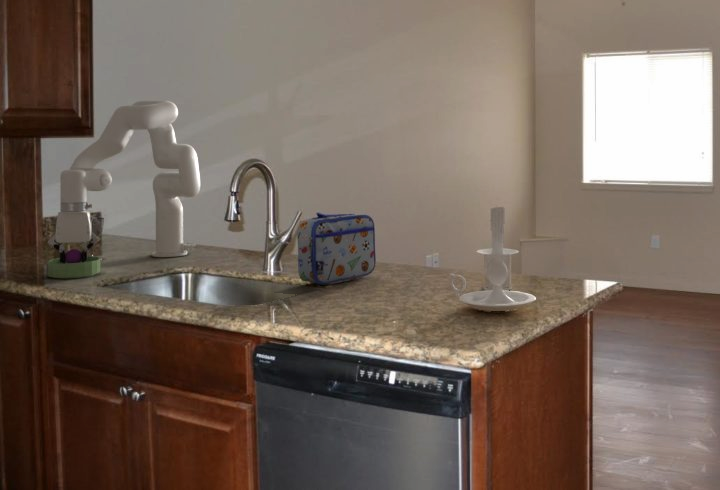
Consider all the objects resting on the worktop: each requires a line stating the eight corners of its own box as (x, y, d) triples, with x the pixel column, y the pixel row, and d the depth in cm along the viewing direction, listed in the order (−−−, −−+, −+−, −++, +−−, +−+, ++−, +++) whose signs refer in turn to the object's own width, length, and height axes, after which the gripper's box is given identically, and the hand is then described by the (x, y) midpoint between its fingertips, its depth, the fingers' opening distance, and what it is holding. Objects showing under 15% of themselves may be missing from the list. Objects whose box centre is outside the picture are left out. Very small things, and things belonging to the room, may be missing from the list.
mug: (494, 295, 230) (495, 254, 230) (471, 291, 235) (471, 251, 235) (517, 288, 240) (517, 249, 240) (494, 285, 245) (494, 246, 245)
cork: (76, 265, 275) (76, 234, 275) (65, 268, 269) (64, 236, 269) (60, 265, 275) (60, 233, 275) (48, 268, 269) (48, 236, 269)
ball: (83, 263, 260) (83, 247, 260) (81, 265, 255) (81, 249, 255) (65, 263, 258) (65, 248, 258) (64, 266, 253) (64, 250, 253)
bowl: (101, 269, 267) (101, 255, 267) (98, 277, 253) (98, 261, 253) (49, 272, 261) (49, 257, 261) (43, 280, 247) (43, 264, 247)
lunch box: (313, 289, 236) (313, 216, 236) (290, 285, 242) (290, 213, 242) (379, 276, 259) (379, 209, 258) (357, 273, 265) (357, 207, 264)
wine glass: (108, 259, 289) (108, 218, 289) (87, 262, 283) (86, 220, 282) (96, 257, 294) (96, 216, 293) (74, 260, 287) (74, 218, 287)
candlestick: (465, 297, 226) (466, 200, 226) (546, 305, 217) (547, 203, 216) (431, 312, 207) (431, 205, 207) (518, 321, 198) (519, 209, 197)
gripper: (103, 206, 263) (103, 260, 264) (44, 207, 256) (44, 263, 257) (102, 208, 257) (102, 264, 257) (41, 209, 250) (41, 267, 250)
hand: (73, 263), depth 257 cm, fingers closed on ball, 4 cm apart
